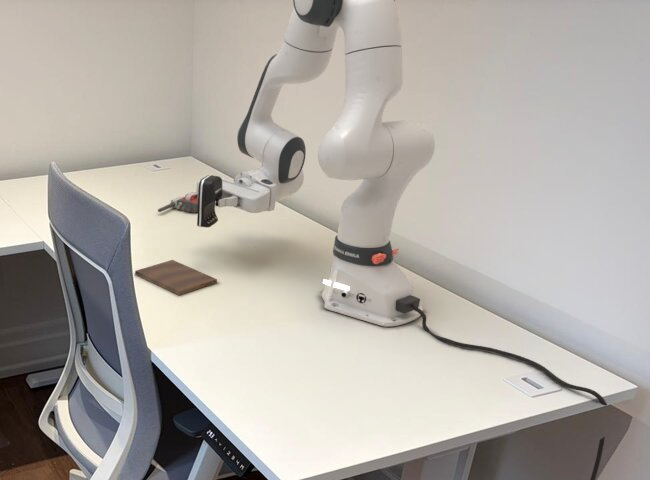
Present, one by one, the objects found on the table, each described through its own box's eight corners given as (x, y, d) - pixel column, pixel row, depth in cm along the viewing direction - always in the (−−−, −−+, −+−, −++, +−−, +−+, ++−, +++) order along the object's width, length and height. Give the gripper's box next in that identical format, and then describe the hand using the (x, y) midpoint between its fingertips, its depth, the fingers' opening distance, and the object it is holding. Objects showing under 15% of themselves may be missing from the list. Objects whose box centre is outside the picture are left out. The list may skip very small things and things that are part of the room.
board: (216, 283, 201) (217, 279, 201) (179, 295, 195) (179, 291, 194) (172, 263, 212) (172, 259, 212) (135, 274, 206) (135, 270, 205)
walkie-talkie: (192, 197, 259) (155, 214, 245) (192, 183, 256) (155, 199, 243) (217, 203, 254) (180, 220, 240) (218, 188, 252) (181, 205, 238)
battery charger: (210, 229, 201) (213, 182, 196) (196, 227, 203) (198, 179, 197) (222, 221, 207) (225, 174, 201) (207, 219, 208) (210, 172, 202)
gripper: (221, 167, 214) (180, 177, 207) (281, 186, 201) (239, 197, 193) (219, 192, 218) (179, 202, 210) (278, 212, 204) (237, 223, 196)
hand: (208, 200), depth 202 cm, fingers closed on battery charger, 5 cm apart
